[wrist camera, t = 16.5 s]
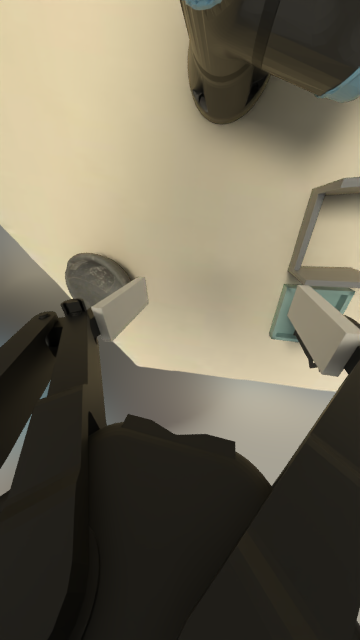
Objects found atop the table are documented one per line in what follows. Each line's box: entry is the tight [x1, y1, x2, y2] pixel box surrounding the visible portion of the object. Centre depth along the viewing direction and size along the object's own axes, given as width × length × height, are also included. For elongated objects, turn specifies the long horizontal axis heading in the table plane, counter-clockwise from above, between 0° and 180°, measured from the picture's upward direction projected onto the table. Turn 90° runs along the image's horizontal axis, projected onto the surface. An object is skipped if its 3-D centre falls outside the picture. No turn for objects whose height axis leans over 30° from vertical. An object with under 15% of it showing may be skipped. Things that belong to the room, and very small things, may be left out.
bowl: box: [65, 253, 131, 309], centre depth 57 cm, size 23×22×10 cm
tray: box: [269, 284, 355, 342], centre depth 48 cm, size 17×15×3 cm
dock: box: [288, 177, 360, 288], centre depth 34 cm, size 17×14×12 cm
